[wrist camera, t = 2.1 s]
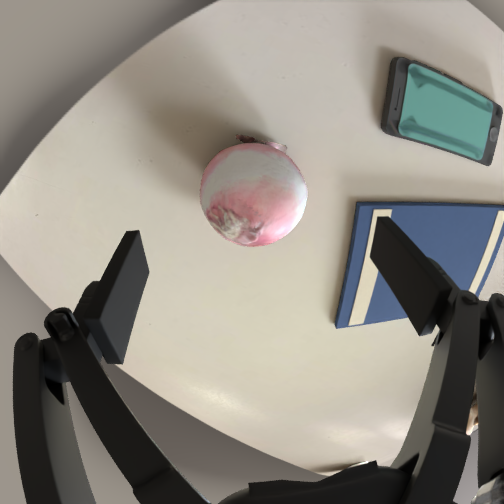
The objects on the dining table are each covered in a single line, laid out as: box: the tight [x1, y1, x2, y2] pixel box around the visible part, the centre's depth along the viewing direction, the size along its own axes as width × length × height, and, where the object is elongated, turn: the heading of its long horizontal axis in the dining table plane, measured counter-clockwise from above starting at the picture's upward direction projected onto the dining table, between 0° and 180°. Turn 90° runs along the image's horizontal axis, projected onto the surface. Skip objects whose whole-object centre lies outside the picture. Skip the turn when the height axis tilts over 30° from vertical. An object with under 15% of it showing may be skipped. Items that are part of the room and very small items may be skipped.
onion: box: [200, 135, 308, 247], centre depth 21 cm, size 8×8×7 cm
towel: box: [335, 202, 504, 329], centre depth 31 cm, size 24×16×1 cm, turn 92°
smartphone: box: [381, 57, 503, 166], centre depth 21 cm, size 7×1×15 cm
